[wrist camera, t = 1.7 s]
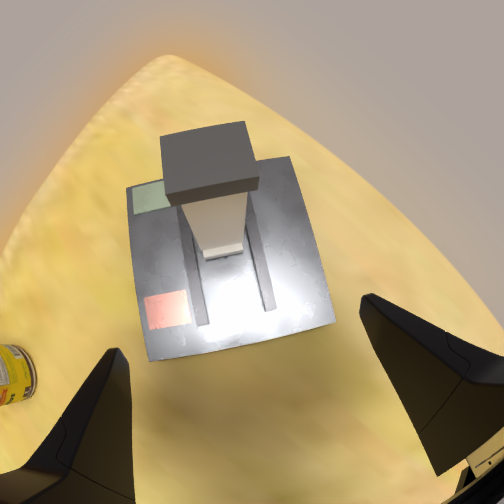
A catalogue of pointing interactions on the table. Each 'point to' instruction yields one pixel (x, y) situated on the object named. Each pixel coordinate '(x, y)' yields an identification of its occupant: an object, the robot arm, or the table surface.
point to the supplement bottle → (15, 375)
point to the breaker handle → (211, 183)
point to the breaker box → (226, 271)
